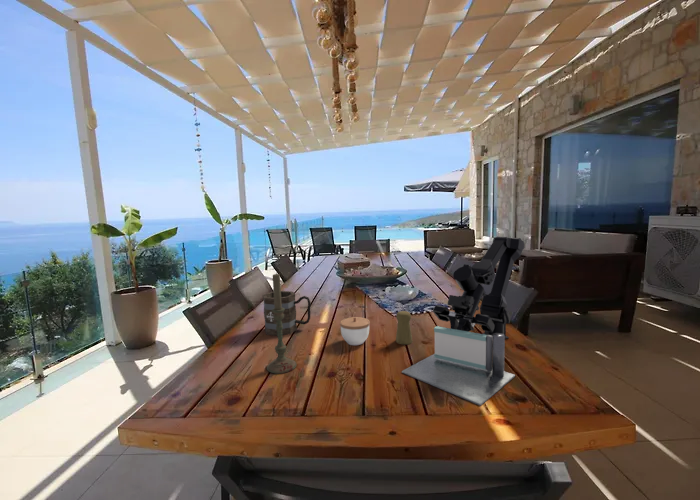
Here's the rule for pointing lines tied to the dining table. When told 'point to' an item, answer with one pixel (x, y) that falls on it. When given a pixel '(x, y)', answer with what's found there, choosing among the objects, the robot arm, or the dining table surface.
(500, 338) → the gate post
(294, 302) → the mug
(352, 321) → the lidded jar
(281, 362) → the candlestick holder
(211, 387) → the dining table surface
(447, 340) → the gate
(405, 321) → the olive green shaker
